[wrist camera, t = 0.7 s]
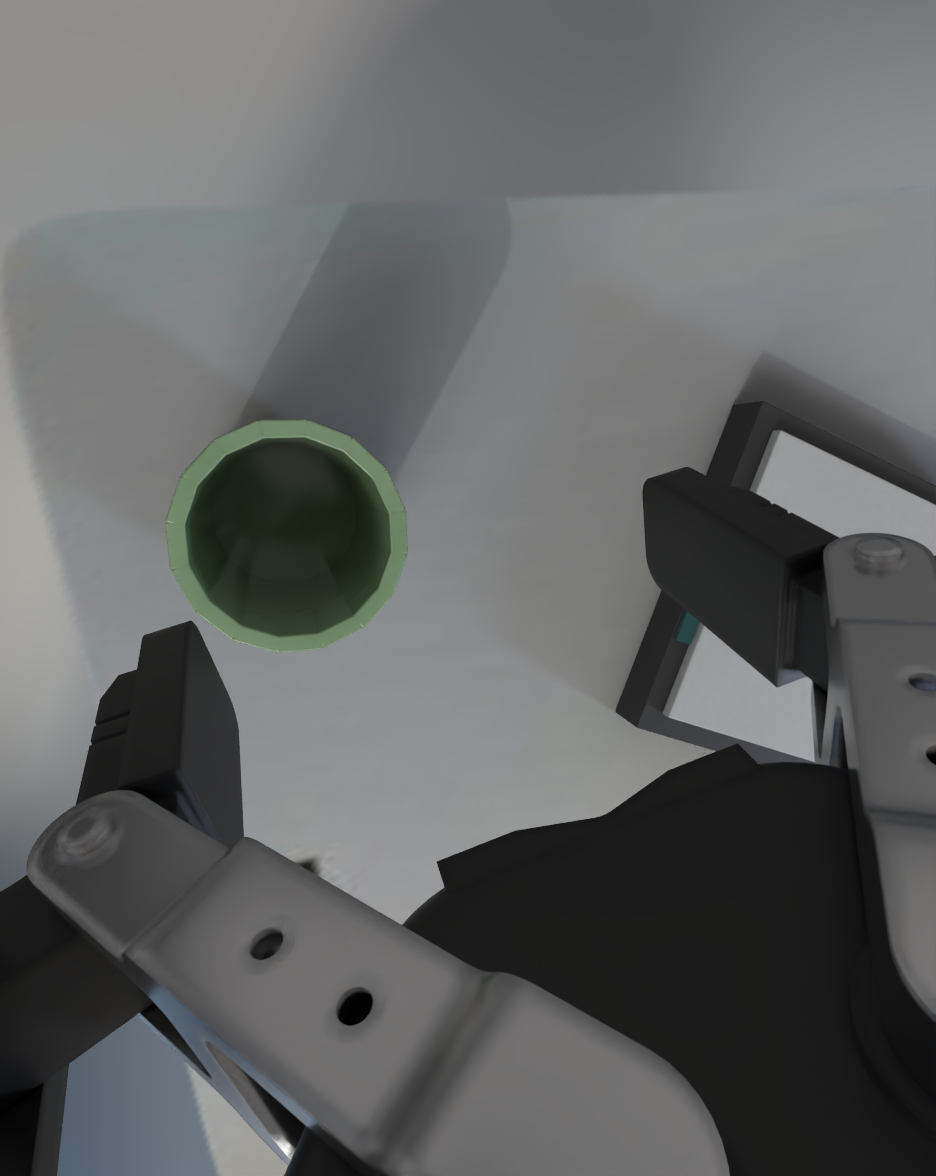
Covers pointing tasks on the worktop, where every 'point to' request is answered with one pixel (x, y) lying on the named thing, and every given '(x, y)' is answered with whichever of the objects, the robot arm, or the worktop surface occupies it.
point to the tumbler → (286, 535)
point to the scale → (704, 662)
